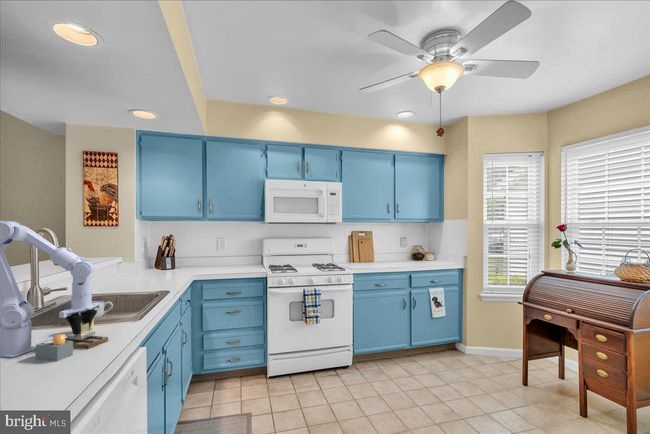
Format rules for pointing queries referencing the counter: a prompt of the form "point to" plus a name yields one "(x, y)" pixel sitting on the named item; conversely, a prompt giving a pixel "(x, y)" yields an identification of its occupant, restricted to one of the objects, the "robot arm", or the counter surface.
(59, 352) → the gauge box
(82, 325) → the carriage
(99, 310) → the teacup
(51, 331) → the counter surface
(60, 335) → the button
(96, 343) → the rail track
